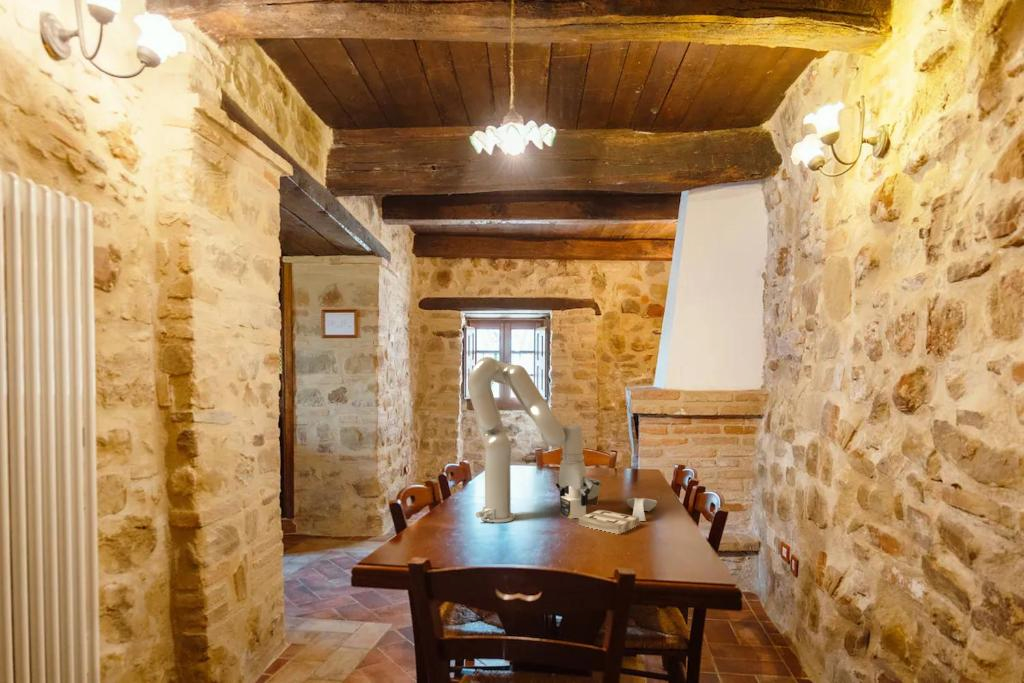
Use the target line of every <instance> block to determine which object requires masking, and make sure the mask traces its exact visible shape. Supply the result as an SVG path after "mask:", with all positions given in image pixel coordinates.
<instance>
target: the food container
mask: <svg viewBox="0 0 1024 683" xmlns="http://www.w3.org/2000/svg"><path fill="white" fill-rule="evenodd" d="M587 479H588V480H589V481H590V482H592V483H593V484H594V485H593V487H592V490H591V491H590V493H589V494H588V504H587V505H598V504H599V495H600V494H599V493H600V487H602V483H601V480H599V479H596V478H594V477H593V478H591V477H587ZM586 488H588V485H587V486H586ZM581 495H583V494H582V493H581ZM598 506H599V505H598Z"/></svg>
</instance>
